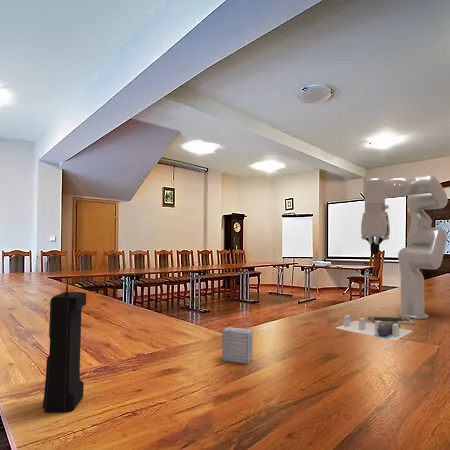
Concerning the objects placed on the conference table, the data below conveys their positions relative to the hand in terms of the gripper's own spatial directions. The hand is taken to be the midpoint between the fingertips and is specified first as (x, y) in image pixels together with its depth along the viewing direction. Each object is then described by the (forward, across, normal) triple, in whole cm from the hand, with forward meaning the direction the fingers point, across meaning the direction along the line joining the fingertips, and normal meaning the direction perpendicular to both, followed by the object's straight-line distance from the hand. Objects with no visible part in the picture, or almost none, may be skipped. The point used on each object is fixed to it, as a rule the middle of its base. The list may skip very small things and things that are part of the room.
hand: (374, 254), depth 140 cm
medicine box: (+29, +11, +69) cm, 76 cm away
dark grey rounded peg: (+28, -9, +10) cm, 31 cm away
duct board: (+29, -3, +9) cm, 31 cm away
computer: (+30, -3, -9) cm, 31 cm away
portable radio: (+29, +18, +114) cm, 119 cm away
